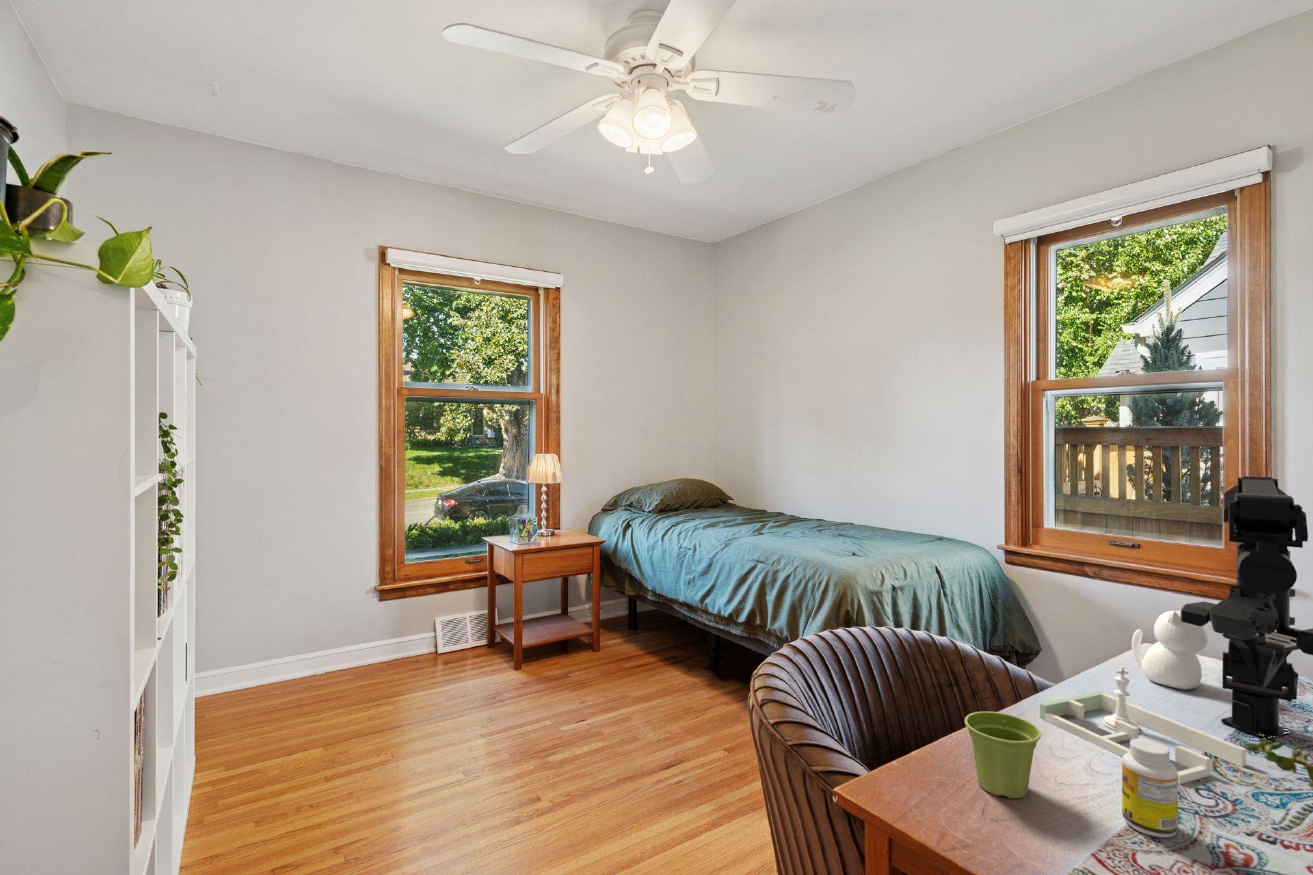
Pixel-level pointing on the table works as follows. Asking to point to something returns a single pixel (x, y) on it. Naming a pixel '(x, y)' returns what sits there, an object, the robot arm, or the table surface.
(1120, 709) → the chess piece
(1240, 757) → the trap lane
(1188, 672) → the cat figurine
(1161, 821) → the supplement bottle
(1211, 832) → the table surface
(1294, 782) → the table surface
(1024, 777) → the plant pot
